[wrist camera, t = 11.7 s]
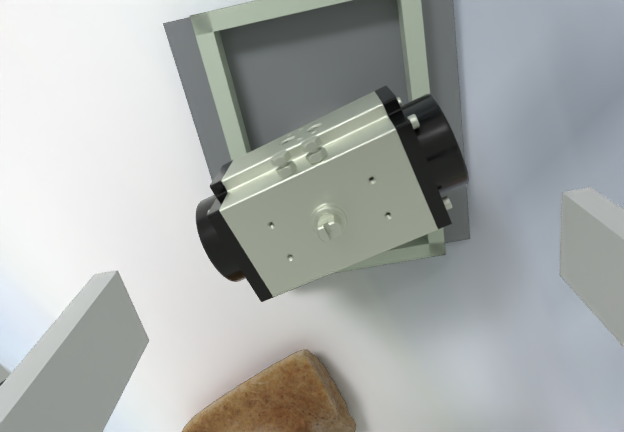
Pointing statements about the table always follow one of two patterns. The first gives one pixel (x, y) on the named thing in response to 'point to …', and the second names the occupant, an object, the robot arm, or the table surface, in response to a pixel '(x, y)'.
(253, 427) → the stone cup
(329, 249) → the pneumatic valve
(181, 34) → the docking tray
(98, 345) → the robot arm
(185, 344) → the table surface
